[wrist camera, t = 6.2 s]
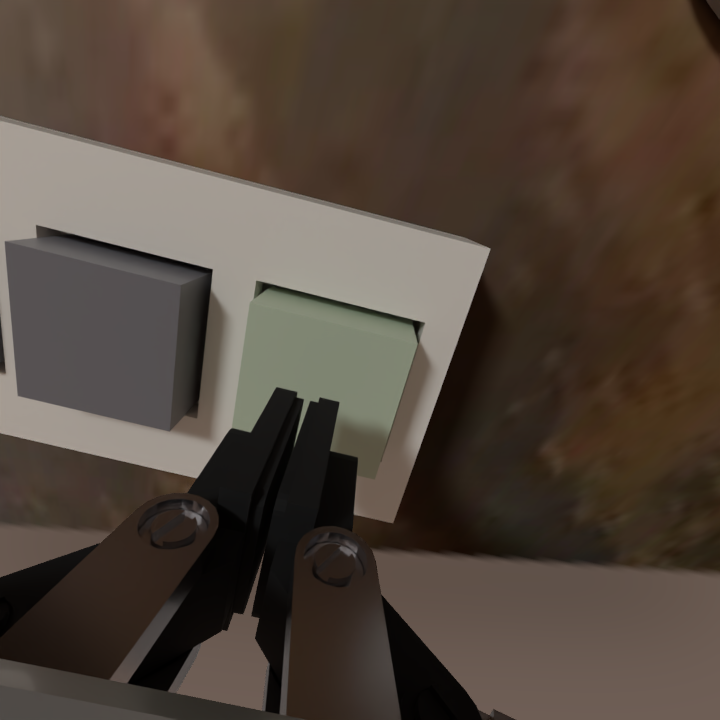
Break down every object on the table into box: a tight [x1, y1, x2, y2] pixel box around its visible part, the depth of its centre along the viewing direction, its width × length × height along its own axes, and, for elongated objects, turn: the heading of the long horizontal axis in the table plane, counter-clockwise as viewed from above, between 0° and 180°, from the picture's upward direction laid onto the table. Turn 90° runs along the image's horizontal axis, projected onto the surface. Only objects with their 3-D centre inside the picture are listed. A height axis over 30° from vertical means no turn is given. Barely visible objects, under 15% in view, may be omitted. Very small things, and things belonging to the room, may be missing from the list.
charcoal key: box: [5, 234, 213, 432], centre depth 14 cm, size 5×5×3 cm
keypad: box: [0, 116, 490, 523], centre depth 16 cm, size 22×11×4 cm, turn 76°
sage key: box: [232, 285, 418, 480], centre depth 14 cm, size 5×5×3 cm
